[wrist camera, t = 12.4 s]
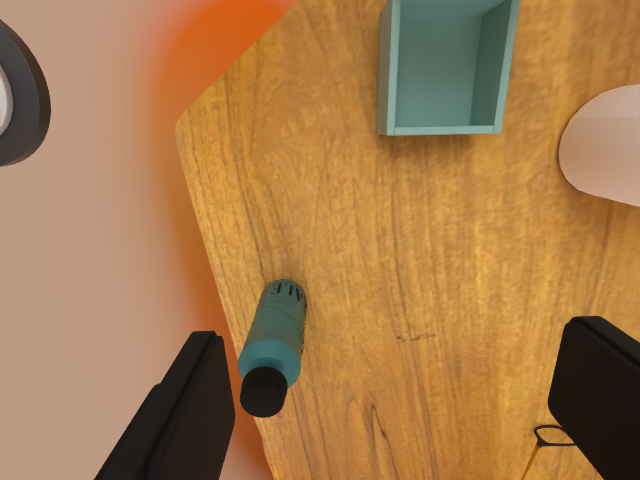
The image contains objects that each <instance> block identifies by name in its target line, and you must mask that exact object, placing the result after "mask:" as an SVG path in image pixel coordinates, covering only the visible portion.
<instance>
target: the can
mask: <svg viewBox="0 0 640 480" xmlns="http://www.w3.org/2000/svg"><path fill="white" fill-rule="evenodd" d="M558 153H559V164H560V168H561V170H562V172H563V174H564V176H565V178H566V179H567V181H568V182H569V183H571V184H572V185H573V186H574V187H575V188H576V189H577V190H580V191H582V192H585V193H588V194H591V195H595V196H599V197H603V198H607V199H611V200H614V201H618V202H622V203H626V204H630V205H634V206H638V207H640V84H637V85H629V86H622V87H618V88H615V89H612V90H609V91H606V92H602V93H601V94H599V95H598V96H596V97H595V98H593V99H592V100H590V101H589V102H587V103H586V104H584V105H583V106H582V107H581V108H580V109H579V110H578V111H577V113H576V114H575V115H574V116H573V117H572V118H571V119H570V121H569V123H568V125H567V126H566V128H565V130H564V132H563V134H562V137H561V141H560V146H559V151H558Z"/></svg>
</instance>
